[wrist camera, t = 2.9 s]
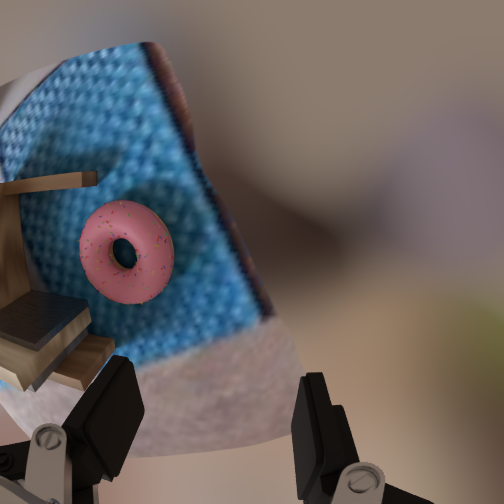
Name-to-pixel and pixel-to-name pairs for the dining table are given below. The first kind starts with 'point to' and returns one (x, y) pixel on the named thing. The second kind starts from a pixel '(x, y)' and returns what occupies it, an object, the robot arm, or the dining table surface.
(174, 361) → the dining table surface
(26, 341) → the dark grey square tile
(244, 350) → the dining table surface
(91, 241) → the doughnut
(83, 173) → the wooden frame
